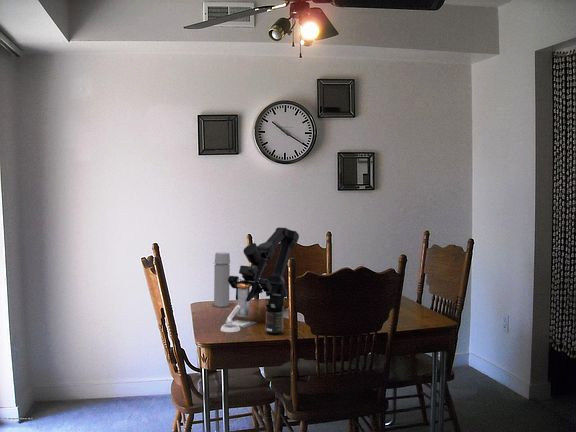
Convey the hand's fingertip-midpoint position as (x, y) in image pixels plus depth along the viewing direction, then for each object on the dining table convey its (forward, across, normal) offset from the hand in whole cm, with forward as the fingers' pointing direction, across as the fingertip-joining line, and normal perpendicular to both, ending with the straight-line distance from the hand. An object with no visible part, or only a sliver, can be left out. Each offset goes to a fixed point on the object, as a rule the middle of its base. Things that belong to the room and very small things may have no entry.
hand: (241, 300), depth 216 cm
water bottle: (-11, -27, +25) cm, 38 cm away
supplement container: (+11, +18, +2) cm, 22 cm away
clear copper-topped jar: (+4, 0, +6) cm, 7 cm away
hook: (+14, +2, -1) cm, 15 cm away
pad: (+8, 0, +6) cm, 10 cm away
